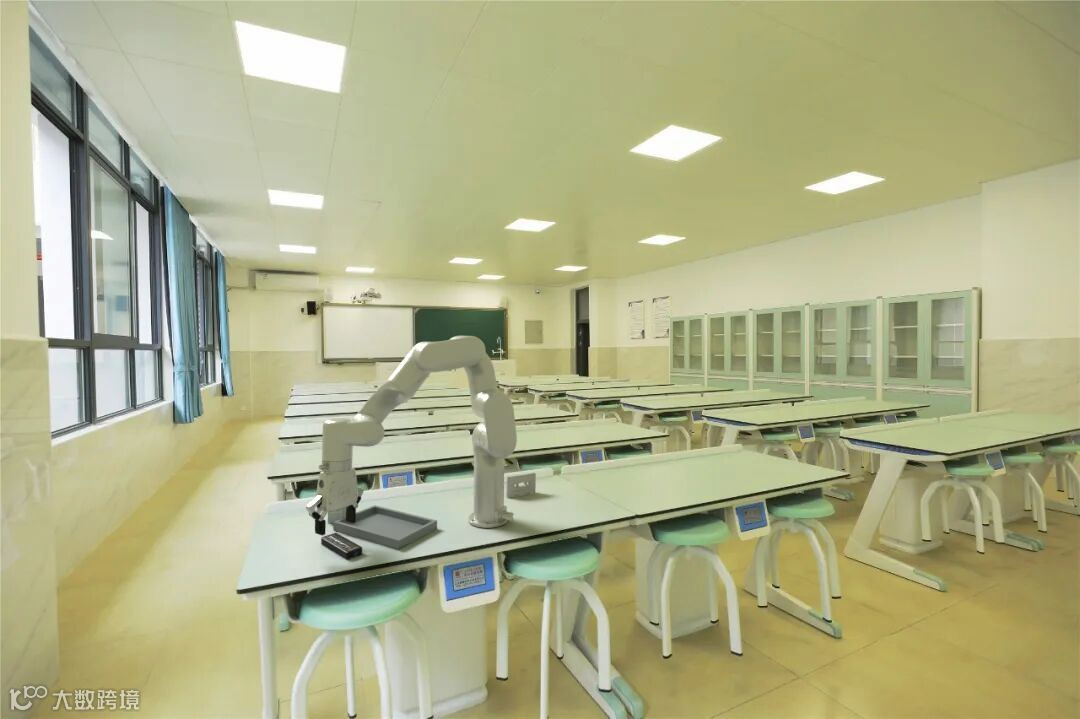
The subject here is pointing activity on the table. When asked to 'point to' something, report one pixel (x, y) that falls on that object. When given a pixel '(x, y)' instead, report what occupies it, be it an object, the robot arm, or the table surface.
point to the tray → (386, 526)
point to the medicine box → (336, 515)
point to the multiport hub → (341, 546)
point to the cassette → (519, 490)
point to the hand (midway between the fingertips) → (335, 527)
